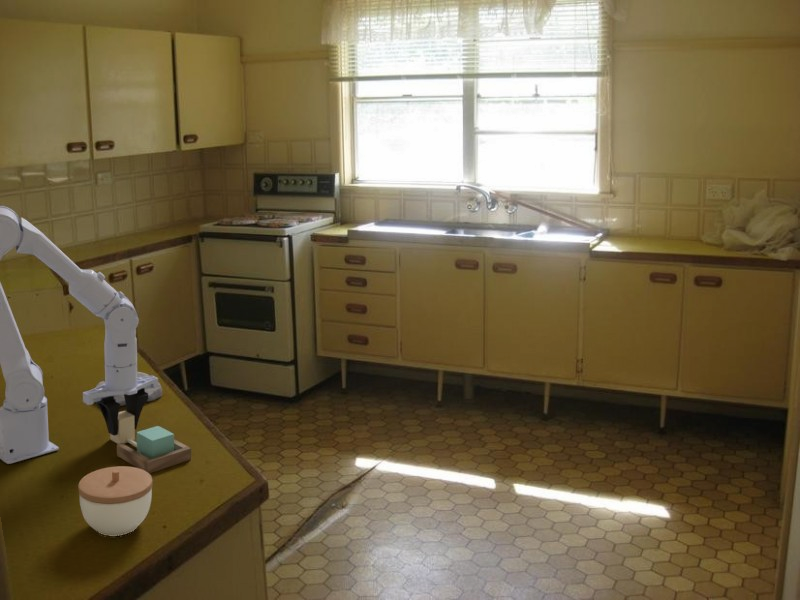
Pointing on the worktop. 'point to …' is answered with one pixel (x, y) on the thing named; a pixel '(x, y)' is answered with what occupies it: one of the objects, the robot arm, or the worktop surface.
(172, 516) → the worktop surface
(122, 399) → the stone block
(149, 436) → the multicoloured linked piece
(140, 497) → the lidded jar
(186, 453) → the u-shaped wooden frame
